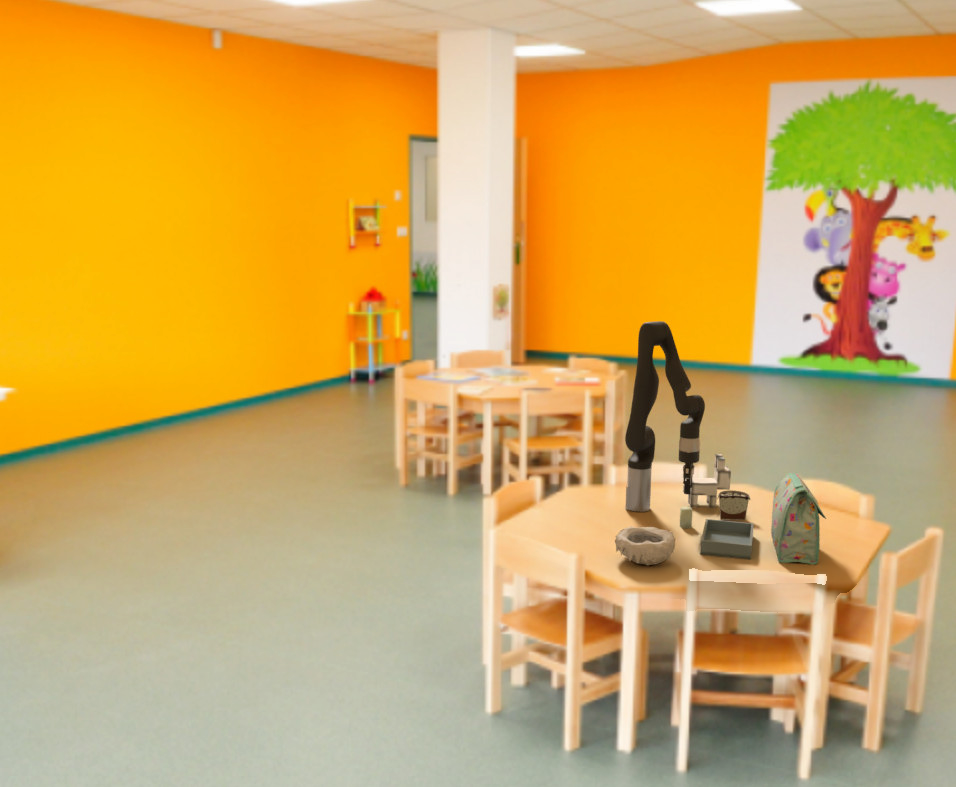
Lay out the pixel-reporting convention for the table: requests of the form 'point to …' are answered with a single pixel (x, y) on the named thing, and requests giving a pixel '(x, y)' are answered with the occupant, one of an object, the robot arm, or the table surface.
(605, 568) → the table surface
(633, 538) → the bowl
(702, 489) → the toy llama
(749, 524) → the bin
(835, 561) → the table surface
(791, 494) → the lunch bag
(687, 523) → the sage cylinder
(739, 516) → the food container
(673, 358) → the robot arm
